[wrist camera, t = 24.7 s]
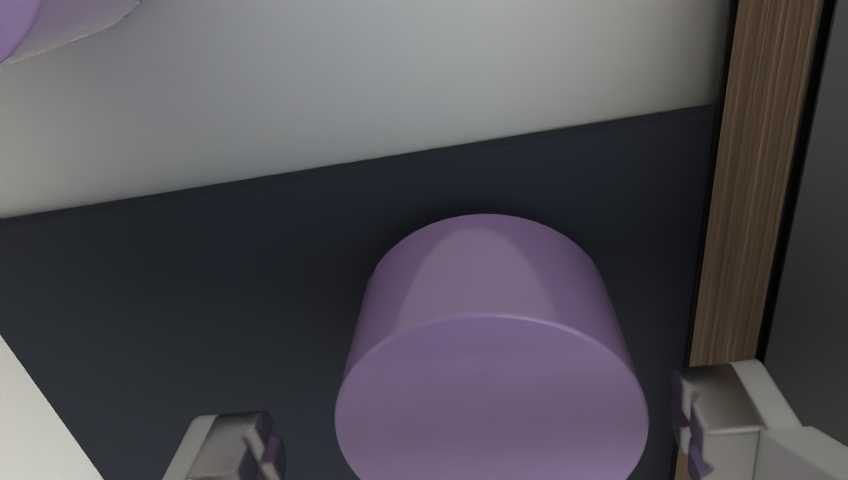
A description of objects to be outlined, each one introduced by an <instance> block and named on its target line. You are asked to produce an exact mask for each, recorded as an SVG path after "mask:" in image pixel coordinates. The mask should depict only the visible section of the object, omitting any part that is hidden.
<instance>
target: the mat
mask: <svg viewBox="0 0 848 480" xmlns="http://www.w3.org/2000/svg"><path fill="white" fill-rule="evenodd" d="M716 105H717V104H712V105H706V106H700V107H694V108H688V109H681V110H675V111H669V112H663V113H657V114H651V115H644V116H638V117H632V118H626V119H620V120H613V121H607V122H601V123H595V124H589V125H582V126H576V127H570V128H564V129H558V130H551V131H545V132H539V133H533V134H527V135H520V136H514V137H508V138H502V139H496V140H489V141H483V142H477V143H471V144H465V145H459V146H452V147H446V148H440V149H434V150H428V151H421V152H415V153H409V154H403V155H397V156H390V157H384V158H378V159H372V160H366V161H359V162H353V163H347V164H341V165H335V166H328V167H322V168H316V169H310V170H304V171H297V172H291V173H285V174H279V175H273V176H267V177H260V178H254V179H248V180H242V181H236V182H229V183H223V184H217V185H211V186H205V187H198V188H192V189H186V190H180V191H174V192H167V193H161V194H155V195H149V196H143V197H136V198H130V199H124V200H118V201H112V202H106V203H99V204H93V205H87V206H81V207H75V208H68V209H62V210H56V211H50V212H44V213H37V214H31V215H25V216H19V217H13V218H6V219H0V335H1V336H2V338H3V339H4V340H5V342H6V343H7V345H8V346H9V347H10V349H11V350H12V352H13V353H14V354H15V356H16V357H17V359H18V360H19V361H20V363H21V364H22V366H23V367H24V368H25V370H26V371H27V373H28V374H29V375H30V377H31V378H32V380H33V381H34V382H35V384H36V385H37V387H38V388H39V389H40V391H41V392H42V394H43V395H44V396H45V398H46V399H47V401H48V402H49V403H50V405H51V406H52V408H53V409H54V410H55V412H56V413H57V415H58V416H59V417H60V419H61V420H62V421H63V423H64V424H65V426H66V427H67V428H68V430H69V431H70V433H71V434H72V435H73V437H74V438H75V440H76V441H77V442H78V444H79V445H80V447H81V448H82V449H83V451H84V452H85V454H86V455H87V456H88V458H89V459H90V461H91V462H92V463H93V465H94V466H95V468H96V469H97V470H98V472H99V473H100V475H101V476H102V477H103V479H104V480H162V479H163V477H164V475H165V473H166V471H167V469H168V467H169V465H170V463H171V461H172V459H173V457H174V456H175V454H176V452H177V450H178V448H179V446H180V444H181V442H182V440H183V438H184V436H185V434H186V432H187V430H188V428H189V426H190V424H191V422H192V421H193V420H194V419H195V418H197V417H198V416H206V415H219V414H226V413H239V412H253V411H267V412H269V414H270V416H271V418H272V420H273V421H274V424H273V427H272V430H271V431H272V432H274V433H275V434H277V435H278V436H280V437H281V439H282V441H283V443H284V445H285V450H286V456H287V458H286V472H285V476H284V479H283V480H360V479H359V478H358V476H357V475H356V474H355V473H354V472H353V470H352V469H351V467H350V466H349V464H348V463H347V462H346V459H345V457H344V455H343V453H342V451H341V449H340V446H339V443H338V439H337V436H336V431H335V422H334V414H335V404H336V400H337V396H338V392H339V388H340V384H341V381H342V377H343V373H344V369H345V365H346V362H347V358H348V354H349V350H350V346H351V342H352V339H353V335H354V331H355V327H356V323H357V319H358V316H359V312H360V308H361V304H362V300H363V297H364V293H365V289H366V285H367V283H368V281H369V279H370V277H371V274H372V272H373V271H374V269H375V268H376V266H377V265H378V263H379V262H380V260H381V259H382V258H383V257H384V256H385V255H386V254H387V253H388V252H389V250H391V249H392V248H393V247H394V246H395V245H396V244H398V243H399V242H400V241H401V240H403V239H404V238H406V237H407V236H409V235H410V234H412V233H414V232H415V231H417V230H419V229H421V228H423V227H426V226H428V225H430V224H432V223H435V222H438V221H441V220H444V219H448V218H453V217H457V216H462V215H471V214H503V215H509V216H516V217H520V218H524V219H528V220H532V221H535V222H537V223H540V224H542V225H545V226H547V227H550V228H552V229H554V230H555V231H557V232H559V233H561V234H562V235H564V236H566V237H567V238H569V239H570V240H571V241H573V242H574V243H575V244H577V245H578V246H579V247H580V248H581V249H582V250H583V251H584V252H585V253H586V254H587V255H588V256H589V257H590V258H591V260H592V261H593V262H594V264H595V265H596V267H597V268H598V269H599V271H600V273H601V275H602V277H603V279H604V281H605V284H606V287H607V290H608V292H609V295H610V298H611V301H612V304H613V307H614V309H615V312H616V315H617V318H618V321H619V324H620V327H621V329H622V332H623V335H624V338H625V341H626V344H627V347H628V349H629V352H630V355H631V358H632V361H633V364H634V367H635V369H636V372H637V375H638V378H639V381H640V384H641V387H642V389H643V392H644V396H645V399H646V402H647V405H648V414H649V428H648V437H647V441H646V444H645V448H644V451H643V454H642V456H641V458H640V460H639V462H638V464H637V466H636V467H635V469H634V470H633V471H632V473H631V474H630V476H629V477H628V478H627V479H626V480H670V479H671V471H672V463H673V455H674V447H675V436H674V432H673V429H672V424H671V417H670V400H671V399H672V398H673V397H674V395H675V394H674V392H673V389H672V387H671V384H670V374H671V371H672V369H673V368H682V367H684V365H685V357H686V349H687V341H688V333H689V325H690V317H691V309H692V300H693V292H694V284H695V276H696V268H697V260H698V252H699V243H700V235H701V227H702V219H703V211H704V203H705V195H706V187H707V178H708V170H709V162H710V154H711V146H712V138H713V130H714V121H715V113H716Z"/></svg>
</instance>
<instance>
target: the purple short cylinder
mask: <svg viewBox="0 0 848 480" xmlns="http://www.w3.org/2000/svg"><path fill="white" fill-rule="evenodd" d="M140 1H141V0H0V69H2V68H4V67H7V66H10V65H12V64H15V63H18V62H20V61H23V60H26V59H28V58H31V57H34V56H36V55H39V54H42V53H44V52H47V51H50V50H52V49H55V48H58V47H60V46H63V45H66V44H68V43H71V42H74V41H77V40H79V39H82V38H85V37H87V36H90V35H93V34H95V33H98V32H100V31H102V30H104V29H106V28H108V27H110V26H112V25H114V24H116V23H117V22H118V21H120V20H121V19H122V18H124V17H125V16H127V15H128V14H129V13H130V12H131V11H132V10H133V9H134V8H135V7H136V6H137V4H138V3H139V2H140Z"/></svg>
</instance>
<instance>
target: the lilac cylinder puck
mask: <svg viewBox="0 0 848 480" xmlns="http://www.w3.org/2000/svg"><path fill="white" fill-rule="evenodd" d="M334 422H335V431H336V436H337V439H338V443H339V446H340V449H341V451H342V453H343V455H344V457H345V459H346V462H347V463H348V464H349V466H350V467H351V469H352V470H353V472H354V473H355V474H356V475H357V476H358V478H359V479H360V480H626V479H627V478H628V477H629V476H630V474H631V473H632V471H633V470H634V469H635V467H636V466H637V464H638V462H639V460H640V458H641V456H642V454H643V451H644V448H645V444H646V441H647V437H648V428H649V414H648V405H647V402H646V399H645V396H644V392H643V389H642V387H641V384H640V381H639V378H638V375H637V372H636V369H635V367H634V364H633V361H632V358H631V355H630V352H629V349H628V347H627V344H626V341H625V338H624V335H623V332H622V329H621V327H620V324H619V321H618V318H617V315H616V312H615V309H614V307H613V304H612V301H611V298H610V295H609V292H608V290H607V287H606V284H605V281H604V279H603V277H602V275H601V273H600V271H599V269H598V268H597V267H596V265H595V264H594V262H593V261H592V260H591V258H590V257H589V256H588V255H587V254H586V253H585V252H584V251H583V250H582V249H581V248H580V247H579V246H578V245H577V244H575V243H574V242H573V241H571V240H570V239H569V238H567V237H566V236H564V235H562V234H561V233H559V232H557V231H555V230H554V229H552V228H550V227H547V226H545V225H542V224H540V223H537V222H535V221H532V220H528V219H524V218H520V217H516V216H509V215H503V214H471V215H462V216H457V217H453V218H448V219H444V220H441V221H438V222H435V223H432V224H430V225H428V226H426V227H423V228H421V229H419V230H417V231H415V232H414V233H412V234H410V235H409V236H407V237H406V238H404V239H403V240H401V241H400V242H399V243H398V244H396V245H395V246H394V247H393V248H392V249H391V250H389V252H388V253H387V254H386V255H385V256H384V257H383V258H382V259H381V260H380V262H379V263H378V265H377V266H376V268H375V269H374V271H373V272H372V274H371V277H370V279H369V281H368V283H367V285H366V289H365V293H364V297H363V300H362V304H361V308H360V312H359V316H358V319H357V323H356V327H355V331H354V335H353V339H352V342H351V346H350V350H349V354H348V358H347V362H346V365H345V369H344V373H343V377H342V381H341V384H340V388H339V392H338V396H337V400H336V404H335V414H334Z"/></svg>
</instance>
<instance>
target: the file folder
mask: <svg viewBox="0 0 848 480" xmlns="http://www.w3.org/2000/svg"><path fill="white" fill-rule="evenodd" d="M753 359H757V360H758V361H760V362H761V363H762V364H763V366H764V367H765V369H766V370H767V372H768V373H769V375H770V377H771V378H772V380H773V381H774V383H775V384H776V386H777V387H778V389H779V390H780V392H781V393H782V395H783V397H784V398H785V400H786V401H787V403H788V404H789V406H790V407H791V409H792V410H793V412H794V413H795V415H796V417H797V418H798V420H799V421H800V423H801V424H802V426H803V427H806V426H813V427H814V428H816V429H818V430H820V431H821V432H823V433H825V434H826V435H828V436H830V437H832V438H833V439H835V440H837V441H838V442H840V443H842V444H843V445H845V446H847V447H848V0H729V8H728V16H727V24H726V32H725V40H724V48H723V56H722V64H721V73H720V81H719V89H718V97H717V105H716V113H715V121H714V130H713V138H712V146H711V154H710V162H709V170H708V178H707V187H706V195H705V203H704V211H703V219H702V227H701V235H700V243H699V252H698V260H697V268H696V276H695V284H694V292H693V300H692V309H691V317H690V325H689V333H688V341H687V349H686V357H685V365H684V367H691V366H700V365H709V364H718V363H728V362H735V361H744V360H753ZM670 480H691V478H690V475H689V473H688V456H687V455H685V454H684V453H683V452H681V451H680V450H679V447H678V444H677V442H676V439H675V447H674V455H673V463H672V471H671V479H670Z"/></svg>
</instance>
